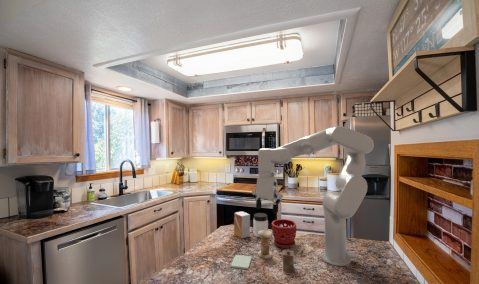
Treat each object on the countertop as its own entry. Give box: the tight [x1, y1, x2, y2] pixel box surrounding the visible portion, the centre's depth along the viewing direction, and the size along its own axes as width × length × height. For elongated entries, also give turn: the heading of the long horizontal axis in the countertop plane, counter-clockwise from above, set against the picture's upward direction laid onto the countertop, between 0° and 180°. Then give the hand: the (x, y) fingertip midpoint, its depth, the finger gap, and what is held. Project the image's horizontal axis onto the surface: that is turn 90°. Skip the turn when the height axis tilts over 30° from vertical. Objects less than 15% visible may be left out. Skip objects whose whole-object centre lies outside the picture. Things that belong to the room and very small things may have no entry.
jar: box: [252, 212, 269, 238], centre depth 134 cm, size 9×8×12 cm
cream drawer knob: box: [257, 229, 273, 260], centre depth 108 cm, size 7×7×11 cm
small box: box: [233, 211, 251, 239], centre depth 133 cm, size 8×6×13 cm
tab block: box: [282, 248, 295, 273], centre depth 96 cm, size 4×4×8 cm
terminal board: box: [230, 254, 253, 270], centre depth 101 cm, size 8×10×1 cm
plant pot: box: [271, 218, 297, 249], centre depth 120 cm, size 13×13×12 cm
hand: (266, 210), depth 104 cm, fingers open, 9 cm apart
